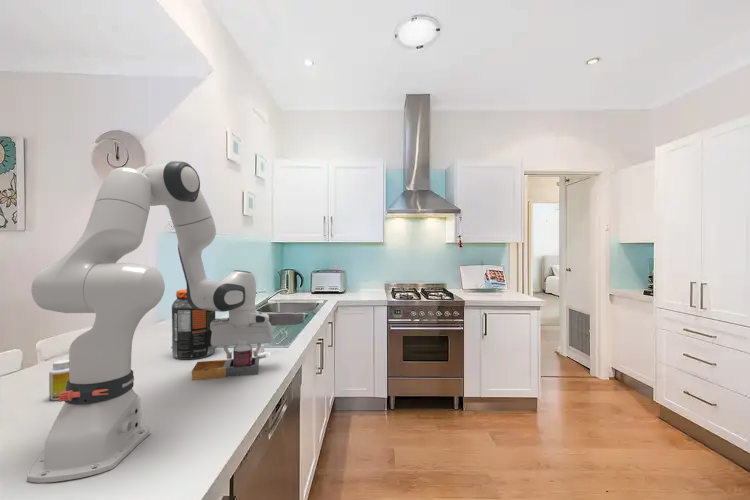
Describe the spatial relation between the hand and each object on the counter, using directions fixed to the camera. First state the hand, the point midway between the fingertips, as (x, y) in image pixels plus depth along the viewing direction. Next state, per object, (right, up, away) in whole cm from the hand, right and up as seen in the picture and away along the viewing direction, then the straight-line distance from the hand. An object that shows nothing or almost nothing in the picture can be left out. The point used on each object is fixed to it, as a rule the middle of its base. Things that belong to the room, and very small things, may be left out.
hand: (242, 357), depth 130 cm
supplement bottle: (-43, -5, -23) cm, 49 cm away
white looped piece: (-2, -5, +18) cm, 19 cm away
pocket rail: (-5, -5, -1) cm, 7 cm away
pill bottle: (0, -5, 0) cm, 5 cm away
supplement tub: (-27, -5, +20) cm, 34 cm away
